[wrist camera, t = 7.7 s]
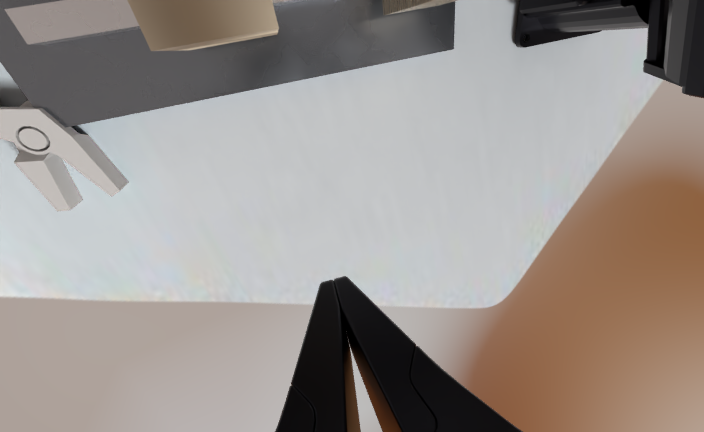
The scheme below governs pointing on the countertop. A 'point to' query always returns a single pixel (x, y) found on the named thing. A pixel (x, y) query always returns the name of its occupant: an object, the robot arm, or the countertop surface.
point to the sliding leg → (202, 22)
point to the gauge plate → (199, 52)
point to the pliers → (56, 155)
